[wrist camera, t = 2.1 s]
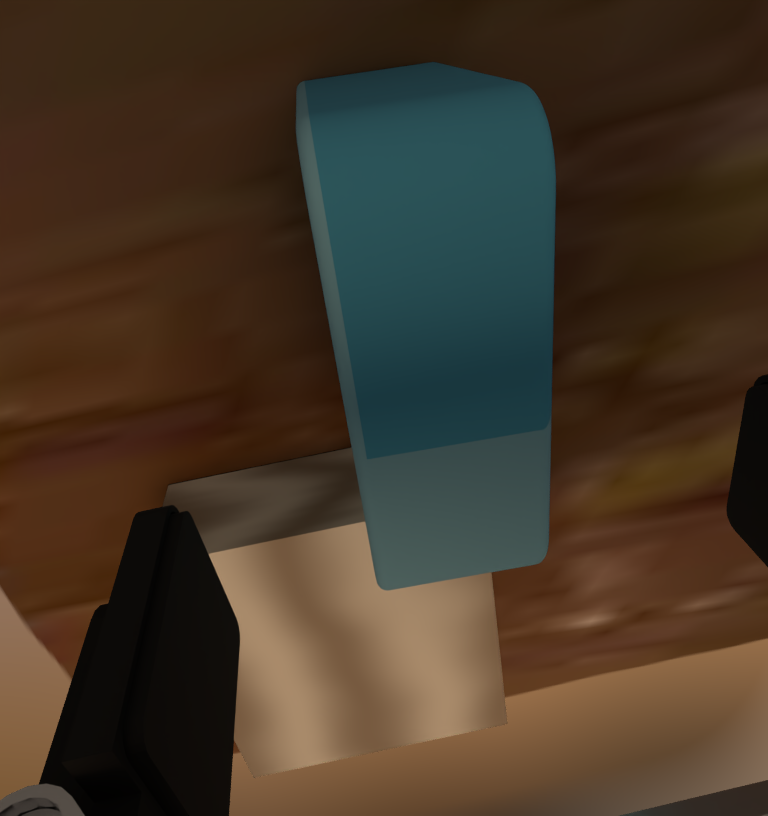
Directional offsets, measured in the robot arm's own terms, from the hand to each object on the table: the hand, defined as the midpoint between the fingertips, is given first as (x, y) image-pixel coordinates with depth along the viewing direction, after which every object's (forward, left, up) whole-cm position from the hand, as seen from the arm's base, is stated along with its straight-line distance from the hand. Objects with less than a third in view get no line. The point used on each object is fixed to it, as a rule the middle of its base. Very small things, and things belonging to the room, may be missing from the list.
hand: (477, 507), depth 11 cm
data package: (0, 0, -16) cm, 16 cm away
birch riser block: (+4, +16, -15) cm, 23 cm away
